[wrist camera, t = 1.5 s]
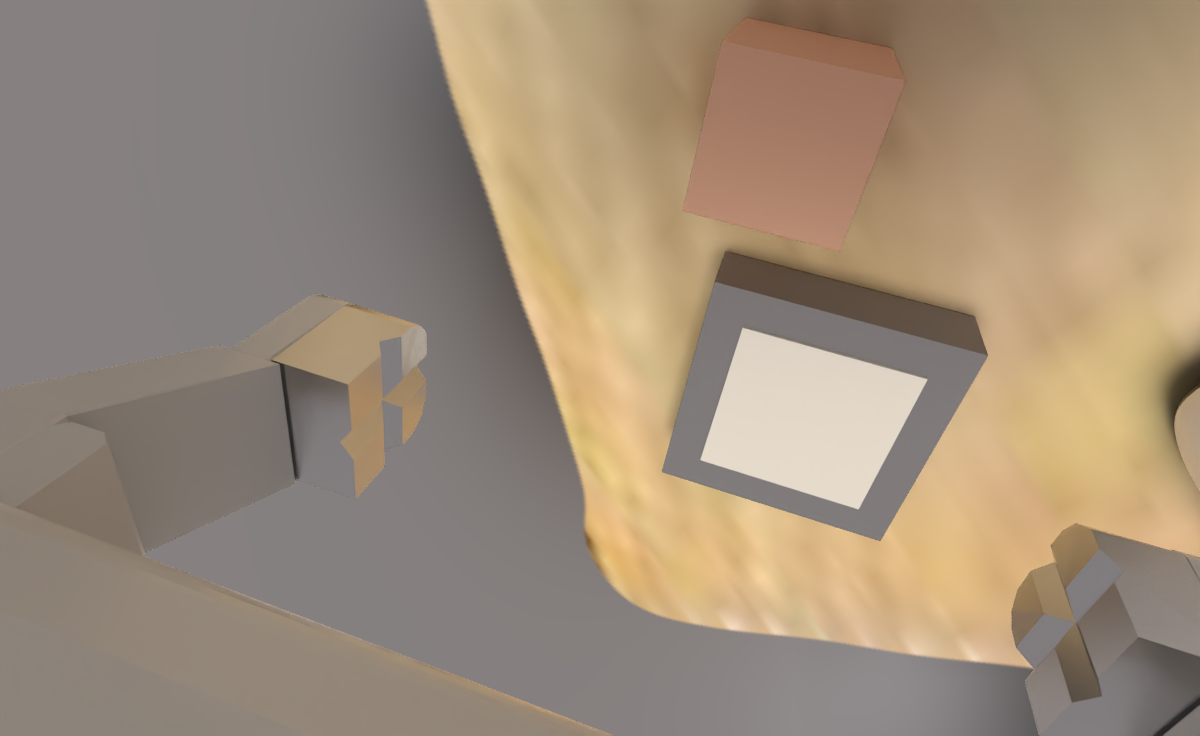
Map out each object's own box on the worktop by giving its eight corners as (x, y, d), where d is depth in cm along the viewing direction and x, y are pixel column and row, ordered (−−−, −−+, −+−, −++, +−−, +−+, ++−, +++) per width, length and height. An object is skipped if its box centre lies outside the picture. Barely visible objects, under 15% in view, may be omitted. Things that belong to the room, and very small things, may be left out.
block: (746, 17, 24) (722, 41, 19) (892, 48, 23) (905, 81, 18) (711, 159, 27) (682, 211, 22) (839, 190, 26) (839, 251, 21)
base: (725, 251, 28) (714, 283, 26) (974, 316, 27) (988, 357, 24) (674, 433, 34) (661, 474, 31) (877, 495, 32) (880, 543, 30)
